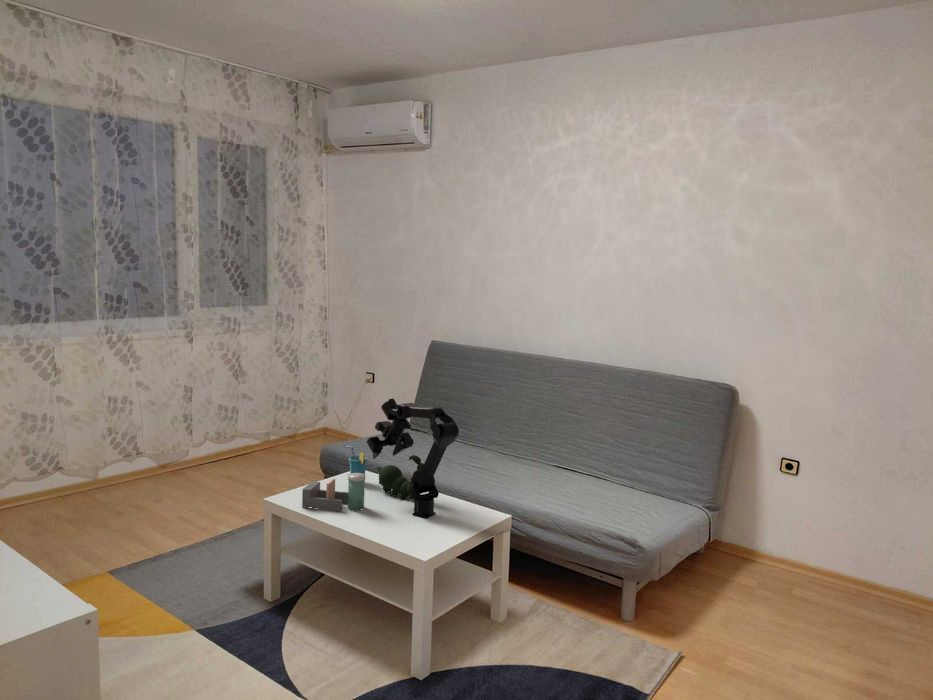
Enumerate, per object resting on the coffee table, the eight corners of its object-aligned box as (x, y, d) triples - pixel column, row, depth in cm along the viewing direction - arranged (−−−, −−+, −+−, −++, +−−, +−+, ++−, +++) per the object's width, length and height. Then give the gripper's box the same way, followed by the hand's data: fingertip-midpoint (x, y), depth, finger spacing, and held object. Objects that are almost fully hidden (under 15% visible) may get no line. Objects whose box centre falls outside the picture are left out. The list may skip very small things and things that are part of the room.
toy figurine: (429, 503, 266) (383, 484, 280) (434, 457, 262) (387, 440, 277) (413, 509, 258) (366, 489, 273) (418, 461, 255) (371, 444, 270)
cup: (338, 480, 284) (339, 445, 283) (353, 477, 290) (354, 442, 288) (358, 488, 275) (359, 452, 273) (373, 484, 280) (374, 449, 279)
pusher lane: (349, 502, 257) (350, 484, 257) (341, 511, 247) (341, 492, 247) (312, 499, 260) (312, 481, 259) (302, 507, 250) (302, 489, 249)
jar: (368, 507, 253) (369, 474, 252) (356, 512, 247) (357, 478, 246) (354, 503, 256) (355, 471, 255) (343, 508, 251) (344, 475, 249)
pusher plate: (334, 501, 257) (335, 478, 256) (328, 507, 250) (328, 484, 249) (332, 501, 257) (333, 478, 256) (326, 507, 250) (326, 484, 249)
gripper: (407, 411, 270) (394, 439, 278) (367, 416, 258) (354, 444, 266) (420, 431, 264) (406, 459, 272) (379, 437, 252) (366, 465, 260)
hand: (383, 456), depth 268 cm, fingers open, 9 cm apart
